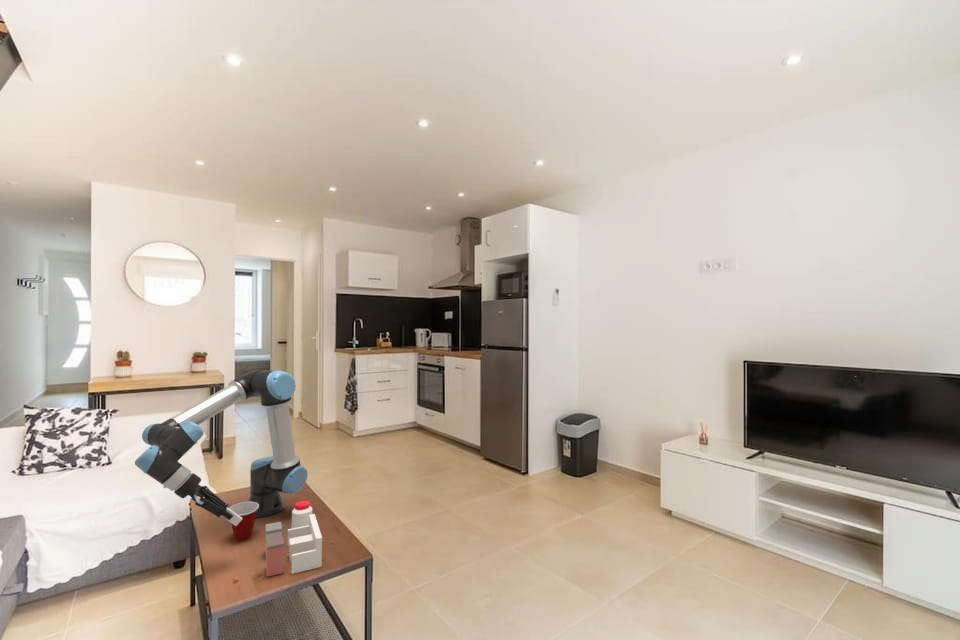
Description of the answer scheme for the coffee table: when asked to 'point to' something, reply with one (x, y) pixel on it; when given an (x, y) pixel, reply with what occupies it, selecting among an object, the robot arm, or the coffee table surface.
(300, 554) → the rack
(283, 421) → the robot arm
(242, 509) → the plastic cup
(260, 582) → the coffee table surface
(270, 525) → the grey capped white pillar
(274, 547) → the capped red pillar
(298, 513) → the pill bottle
